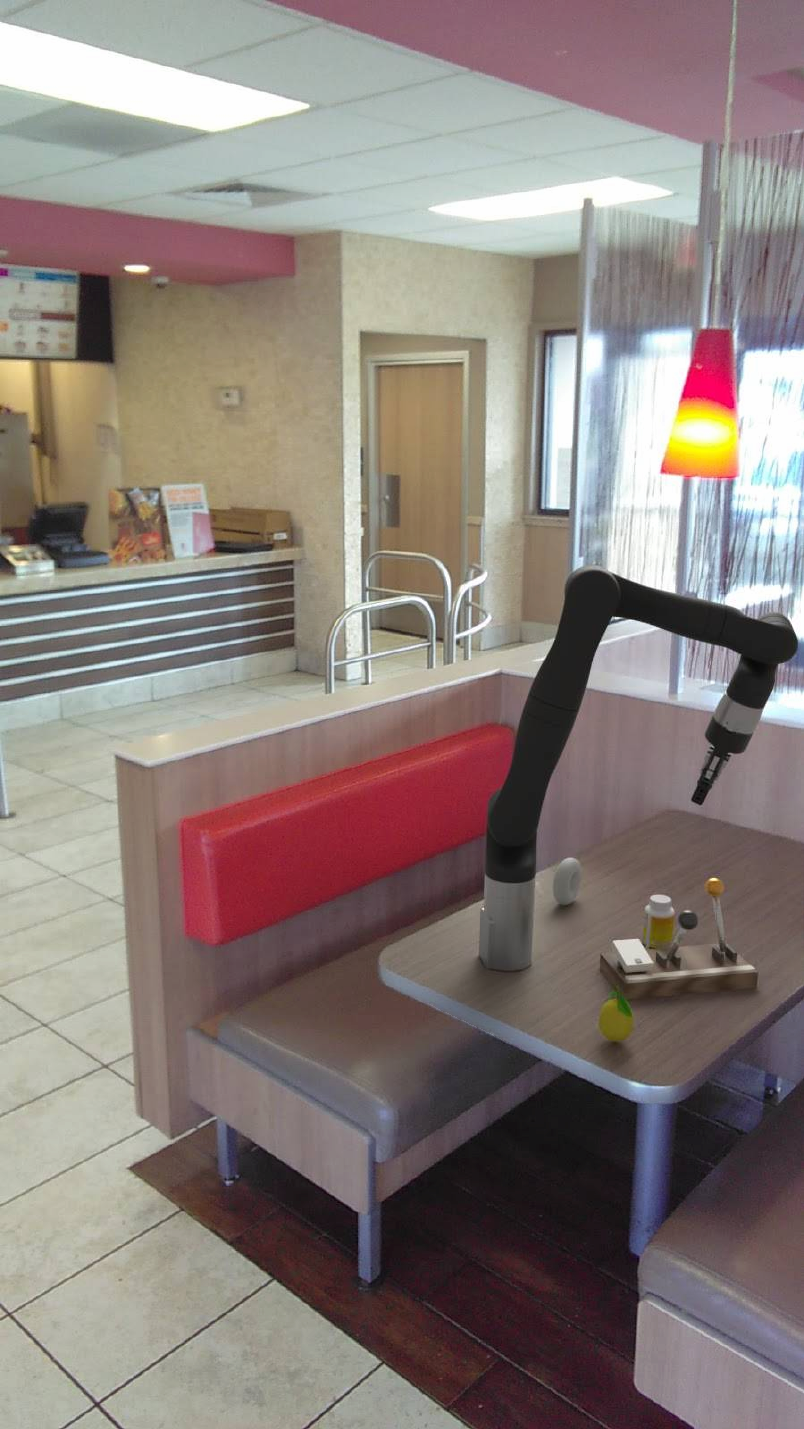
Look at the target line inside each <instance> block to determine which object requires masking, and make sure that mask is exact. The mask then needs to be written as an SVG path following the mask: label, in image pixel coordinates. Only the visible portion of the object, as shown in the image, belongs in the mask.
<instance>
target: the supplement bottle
mask: <svg viewBox="0 0 804 1429" xmlns="http://www.w3.org/2000/svg"><path fill="white" fill-rule="evenodd" d="M648 903H649V904H648V905H646V906H645V908H644V915H643V916H644V917H643V929H642V930H643V931H642V945H643V947H644V948H645V950H647V949H659V948H671V946H672V944H673V942H674V940H673V939H674V926H675V910H674V908H673V907H672V899H671V898H670V897H669V896H668V895H665V894H653V895H651V896H650V898H649V902H648Z"/></svg>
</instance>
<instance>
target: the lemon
mask: <svg viewBox="0 0 804 1429" xmlns="http://www.w3.org/2000/svg"><path fill="white" fill-rule="evenodd" d="M616 991H617V992H616ZM614 997H615V998H614ZM634 1017H635V1016H634V1012H633V1010H632V1008H631V1006H630V1004H629V1002H628V1000H626V998H625V997H624V996H623V995H621V994H620V992H619V986H617V989H615V990H612V991H611V992H610V993H609V995H608V997H607V999H606V1000H605V1003H604V1004H603V1006H602V1007H601V1009H600V1012H599V1017H598V1018H599V1019H598V1027H599V1030H600V1032H601V1034H602V1036H603V1037H604V1038H606V1039H607V1040H609V1041H612V1042H613V1043H618V1042H621V1041H625V1040H626V1039H628V1038H629V1037H630V1035H631V1033H632V1031H633V1028H634V1020H635V1018H634Z"/></svg>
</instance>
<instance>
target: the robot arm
mask: <svg viewBox="0 0 804 1429" xmlns="http://www.w3.org/2000/svg"><path fill="white" fill-rule="evenodd" d="M563 591H564V592H563V593H564V601H563V605H562V611H561V615H560V618H559V619H560V620H559V623H558V627H557V630H556V634H555V635H554V639H553V642H552V644H551V647H550V649H549V651H548V652H547V655H545V656H546V657H545V658H544V660H543V662H541V665H540V667H539V669H538V670H537V673H536V675H535V677H534V679H533V681H532V683H531V686H530V688H529V690H528V694H527V697H526V700H525V703H524V705H523V708H522V711H521V716H520V718H519V723H518V726H517V731H516V736H515V740H514V742H515V743H514V747H513V751H512V752H513V753H512V758H511V762H510V765H509V770H508V772H507V775H506V778H505V780H504V782H503V784H502V786H501V787H499V788H498V789H497V790H495V792H493V794H492V795H491V796H490V797H489V800H488V802H487V808H486V809H487V810H486V830H485V831H486V833H485V834H486V836H485V853H484V854H485V858H484V888H483V889H484V892H483V893H484V894H483V907H481V908H480V911H479V937H478V939H479V941H478V956H479V958H480V959H481V961H482V962H483V964H484V966H485V967H486V969H487V970H498V971H505V972H515V971H521V970H525V969H526V968H528V967H530V965H531V963H532V960H533V959H532V958H533V957H532V956H533V940H534V939H533V936H534V916H535V914H534V913H535V894H536V893H535V892H536V873H537V871H536V870H537V841H538V840H537V838H538V835H537V834H538V829H539V823H540V818H541V815H542V809H543V805H544V802H545V798H546V794H547V791H548V787H549V784H550V781H551V777H552V775H553V773H554V771H555V769H556V767H557V765H558V763H559V761H560V759H561V756H562V755H563V752H564V749H565V747H566V744H567V742H568V740H569V738H570V735H571V733H572V732H573V731H572V730H573V728H574V726H575V722H576V719H577V717H578V716H579V715H578V714H579V711H580V709H581V705H582V702H583V699H584V696H585V692H586V689H587V686H588V683H589V679H590V678H589V677H590V675H591V674H590V673H591V671H592V670H591V669H592V666H593V662H594V659H595V656H596V652H597V650H598V648H599V645H600V644H601V641H602V639H603V637H604V634H605V633H606V630H607V628H608V627H609V624H610V622H611V621H612V619H613V618H619V619H620V618H621V619H626V620H627V619H628V620H631V621H637V622H640V623H642V624H643V623H644V624H646V625H650V626H653V627H655V628H657V629H658V628H659V629H661V630H664V631H666V632H669V633H671V634H675V635H677V636H680V637H684V638H686V639H690V640H694V641H696V642H697V641H698V642H701V643H705V644H709V645H714V646H718V647H722V648H726V649H728V650H731V651H732V652H735V653H737V654H739V655H740V657H739V661H738V664H737V667H736V670H735V671H734V673H733V674H732V677H731V679H730V681H729V683H728V686H727V687H726V690H725V692H724V693H723V695H722V696H721V698H720V700H719V702H718V703H717V706H716V708H715V710H714V713H713V714H712V717H711V719H710V720H709V723H708V725H707V728H706V730H705V732H704V737H705V738H704V739H706V741H707V742H708V744H711V745H710V746H709V749H708V750H707V752H706V754H705V756H704V758H703V759H704V762H703V764H702V766H701V768H700V771H699V773H700V776H699V778H698V780H697V781H696V785H697V786H696V787H695V790H694V792H693V794H692V796H691V798H690V801H691V802H692V803H694V804H696V805H698V806H702V805H703V804H704V802H705V800H706V798H707V795H708V794H709V791H711V790H712V788H713V786H714V784H715V782H716V781H718V780H719V778H720V776H721V775H722V772H723V770H725V768H726V767H727V765H728V762H729V761H730V759H731V757H732V754H734V755H740V754H743V753H744V752H745V751H746V749H747V748H748V745H749V744H750V741H751V740H752V738H753V735H754V733H755V731H756V728H757V727H758V724H759V723H760V720H761V718H762V715H763V711H764V709H765V707H766V704H767V703H768V701H769V699H770V696H771V695H772V692H773V690H774V688H775V684H776V671H777V668H778V665H781V664H784V663H786V662H789V661H790V660H791V659H793V657H794V656H795V655H796V653H797V651H798V647H799V641H798V640H799V639H798V636H797V634H796V632H795V629H794V627H793V625H792V622H791V621H790V620H789V619H788V617H786V616H785V615H784V614H782V613H779V612H775V611H770V612H766V613H762V614H761V615H759V617H757V618H754V617H751V616H747V615H746V614H744V613H743V612H742V611H741V610H740V609H738V608H736V607H735V606H731V605H728V604H724V603H721V602H720V603H719V602H715V601H713V600H712V601H711V600H707V599H705V598H704V599H703V598H699V597H694V596H689V595H685V594H681V593H675V592H670V591H668V590H667V591H666V590H662V589H658V588H655V587H651V586H647V585H644V584H643V583H638V582H635V581H633V580H631V579H628V578H625V577H623V576H620V575H618V574H616V573H614V572H613V571H610V570H608V569H607V568H605V567H603V566H602V565H601V566H600V565H596V564H587V565H583V566H581V567H578V568H576V569H575V570H574V571H573V572H571V574H570V575H569V576H568V578H567V580H566V582H565V585H564V590H563Z"/></svg>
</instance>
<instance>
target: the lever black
mask: <svg viewBox="0 0 804 1429" xmlns="http://www.w3.org/2000/svg"><path fill="white" fill-rule="evenodd" d="M677 922H678V924H679V927H680V928H679V930H678V932H677V934H676V935H675V938H674V940H673V941H672V946H671V948H670V950H669V952H668V954H667V956H666V958H667V961H672V960H673V958H674V956H675V954H676V952H677V950H678V948H679V947H681V946H680V945H681V944H682V941H683V939H684V937H685V935H686V933H687V931H691V930H694V929H695V928H696V927H697V926H698V923H699V917H698V915H697V913H696V912H694V911H693V910H691V909H686V910H685V909H684V910H682V911H681V912H680V913H679V914H678V916H677Z"/></svg>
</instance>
